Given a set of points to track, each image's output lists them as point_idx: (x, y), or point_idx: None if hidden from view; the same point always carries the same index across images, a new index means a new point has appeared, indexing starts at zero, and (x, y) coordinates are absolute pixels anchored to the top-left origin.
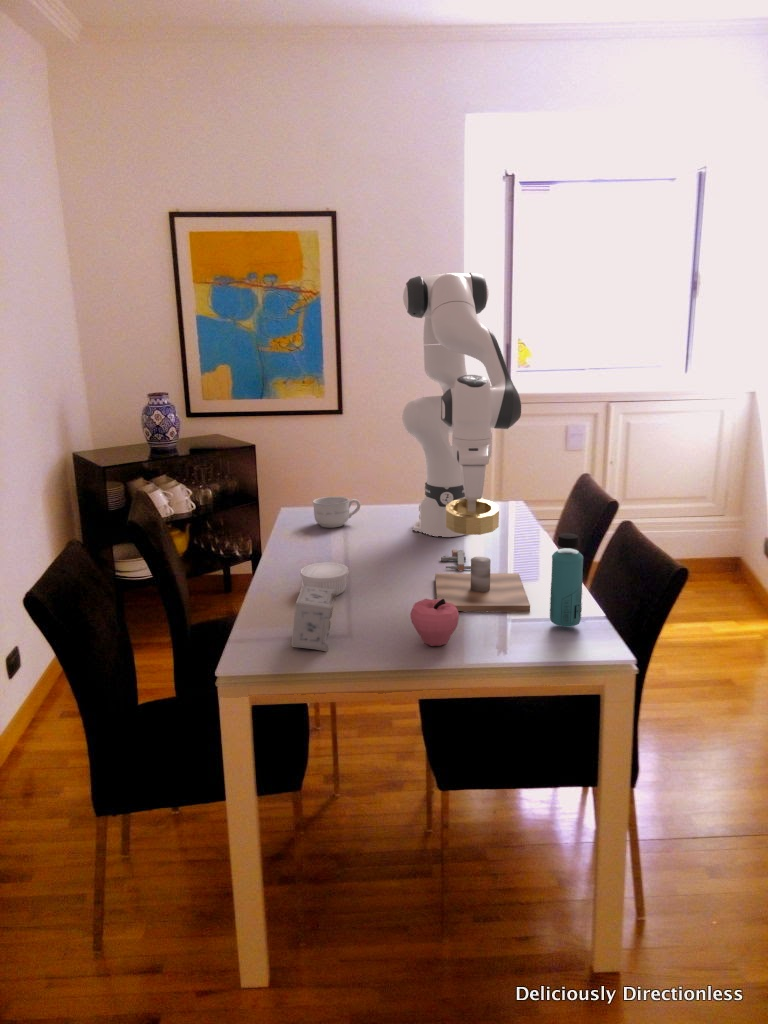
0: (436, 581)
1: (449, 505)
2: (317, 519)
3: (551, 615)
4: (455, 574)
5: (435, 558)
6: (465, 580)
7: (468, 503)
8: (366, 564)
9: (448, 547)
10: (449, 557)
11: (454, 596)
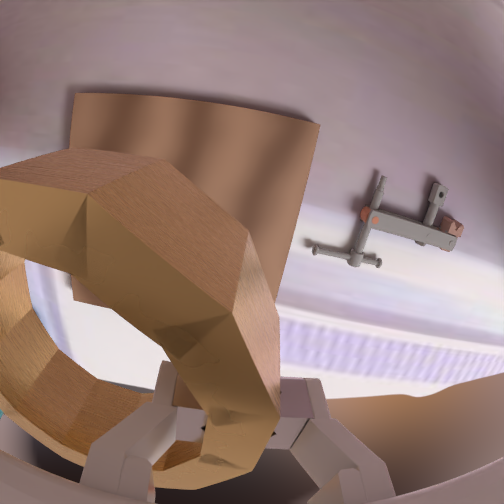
0: (251, 110)
1: (76, 236)
2: None
3: None
4: (299, 181)
5: (455, 176)
6: (243, 197)
7: (143, 408)
8: (449, 6)
9: (493, 227)
10: (434, 206)
11: (124, 142)
